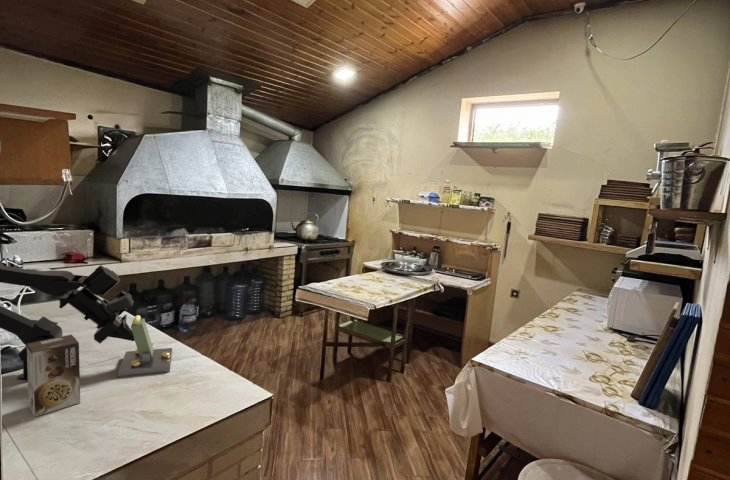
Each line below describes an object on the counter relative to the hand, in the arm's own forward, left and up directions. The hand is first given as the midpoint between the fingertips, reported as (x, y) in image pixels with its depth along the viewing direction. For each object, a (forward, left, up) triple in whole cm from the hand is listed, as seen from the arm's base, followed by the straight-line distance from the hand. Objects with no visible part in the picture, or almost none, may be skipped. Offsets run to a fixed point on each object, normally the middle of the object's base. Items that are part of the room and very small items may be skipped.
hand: (135, 339), depth 116 cm
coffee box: (-22, +8, -8) cm, 25 cm away
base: (+1, -3, -8) cm, 9 cm away
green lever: (+1, -3, -5) cm, 6 cm away
